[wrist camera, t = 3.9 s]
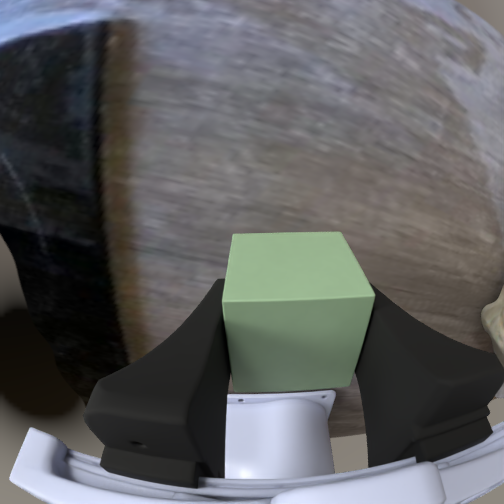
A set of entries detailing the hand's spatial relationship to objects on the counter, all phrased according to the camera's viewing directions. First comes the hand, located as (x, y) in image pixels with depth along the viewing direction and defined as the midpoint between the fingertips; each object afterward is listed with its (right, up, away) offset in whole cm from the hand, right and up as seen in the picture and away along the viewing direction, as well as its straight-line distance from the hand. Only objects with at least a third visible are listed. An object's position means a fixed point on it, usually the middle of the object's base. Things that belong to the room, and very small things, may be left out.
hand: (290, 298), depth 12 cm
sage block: (0, +1, +1) cm, 1 cm away
